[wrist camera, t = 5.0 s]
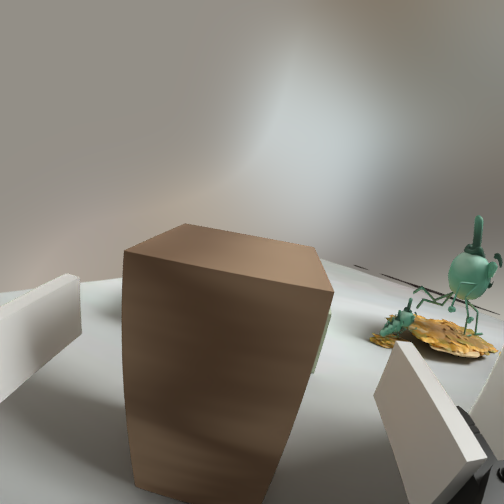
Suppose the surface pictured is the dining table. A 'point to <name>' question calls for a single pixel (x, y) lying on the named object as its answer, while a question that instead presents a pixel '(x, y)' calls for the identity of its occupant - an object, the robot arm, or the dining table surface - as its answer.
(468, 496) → the robot arm
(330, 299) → the walnut block
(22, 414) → the dining table surface
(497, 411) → the jar
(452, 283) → the green insect figurine
